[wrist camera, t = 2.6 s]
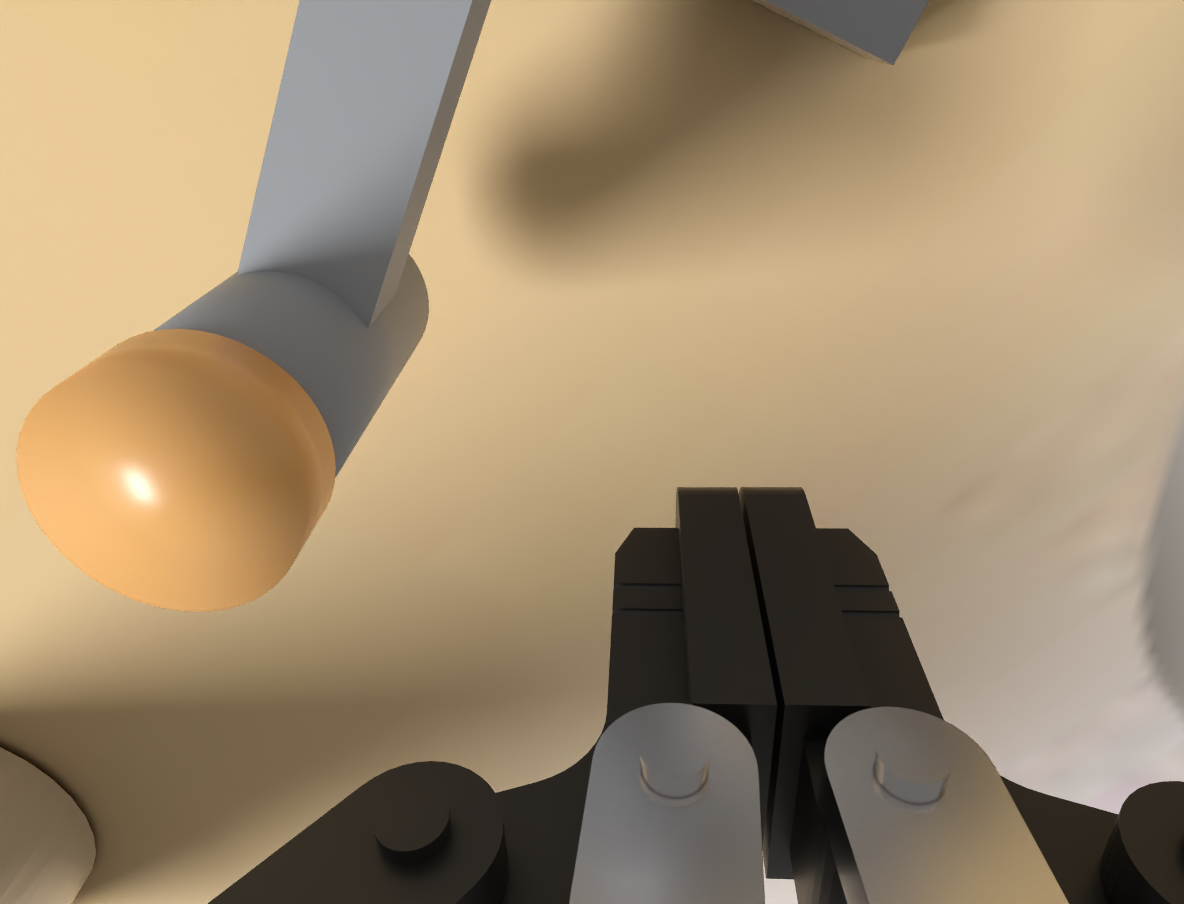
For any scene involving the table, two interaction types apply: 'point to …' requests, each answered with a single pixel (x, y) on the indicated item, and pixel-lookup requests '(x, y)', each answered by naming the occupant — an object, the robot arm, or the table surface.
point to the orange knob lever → (266, 330)
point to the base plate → (856, 22)
